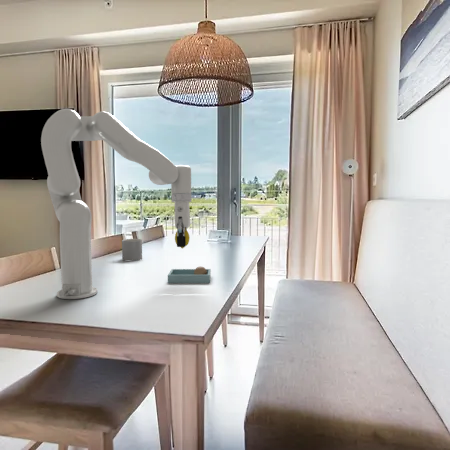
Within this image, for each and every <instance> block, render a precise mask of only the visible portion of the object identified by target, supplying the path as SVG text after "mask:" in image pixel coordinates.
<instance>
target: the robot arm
mask: <svg viewBox="0 0 450 450" xmlns="http://www.w3.org/2000/svg"><path fill="white" fill-rule="evenodd" d="M74 141H75V142H80V141H81V142H83V141H84V142H92V141H93V142H95V141H96V142H97V141H103V142H105V143H106V144H107V145H108V146H109V147H111V148H112V149H113V150H114V151H115V152H116V153H117V154H119V155H120V156H121V157H122V158H124V159H125V160H128V161H131V162H135V163H136V164H139V165H141V166H143V167H144V168H146V169H147V170H148V171H149V172H148V179H149V180H150V181H151V183H153V184H154V185H157V186H159V185H160V186H164V185H170V187H171V189H170V190H171V203H174V227H175V228H176V229H177V230H176V232H177V244H176V247H178V248H181V247H184V248H185V247H186V237H185V230H187V229H189V228H190V227H191V219H190V218H191V215H190V210H191V209H190V203H192V168H191V167H190V166H189V165H185V164H184V165H183V164H179V165H177V164H174V162H172V161H171V160H170V159H169V158H168V157H167V156H166V155H164V154H163V153H162V152H160V150H158V149H157V148H155V147H153V146H152V145H150V144H148V143H146V141H143V140H142V139H140V138H139V137H138V136H137V135H135V134H134V133H133V132H132V131H131V130H130V129H129V128H128V127H126V125H124V124H123V123H122V122H121V121H120V120H118V119H117V118H116V117H115V116H114V115H112V114H111V113H110V112H108V111H99V112H95V113H94V115H90V116H89V115H86V116H85V115H84V116H82V115H81V116H80V115H79V113H78V112H76V110H74V109H71V108H62V109H59V110H57V111H56V112H54V113H53V114H52V115H50V117H49V118H48V119H47V120H46V122H45V124H44V126H43V128H42V131H41V137H40V142H41V143H40V145H41V151H42V155H43V159H44V164H45V167H46V170H47V175H48V176H47V179H46V185H47V189H48V194H49V196H50V200H51V204H52V206H53V211H54V213H55V217H56V218H57V220H58V222H59V252H60V256H59V257H60V274H61V275H60V277H61V278H60V280H61V290H59V291H57V292H56V297H57V298H59V299H62V300H77V299H80V300H81V299H85V298H91V297H93V296H94V295H97V293H98V288H97V287H94V286H93V266H92V265H93V264H92V263H93V261H92V221H93V220H92V219H93V218H92V212H91V209H90V207H89V206H88V204H87V203H85V202H84V201H83V200H82V197H81V193H80V187H81V178H80V176H79V172H78V169H77V166H76V162H75V159H74V153H73V151H72V142H74ZM187 231H188V230H187Z"/></svg>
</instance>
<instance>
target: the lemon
mask: <svg viewBox="0 0 450 450" xmlns="http://www.w3.org/2000/svg"><path fill="white" fill-rule="evenodd" d="M174 234H175V235H174V242H175V244H176V245H177V231H176V232H175V233H174ZM185 237H186V246H188V245H189V243H190V234H189V232H188V230H185ZM186 246H185V247H186ZM185 247H180V249H184V248H185Z"/></svg>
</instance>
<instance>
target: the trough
mask: <svg viewBox="0 0 450 450" xmlns="http://www.w3.org/2000/svg"><path fill="white" fill-rule="evenodd" d="M195 269H196V268H172V269H171V270H169V273H168V274H167V283H168V284H210V283H211V276H212V270H211V268H205V269H206V271H207V275H194V270H195Z"/></svg>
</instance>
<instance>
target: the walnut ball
mask: <svg viewBox="0 0 450 450" xmlns="http://www.w3.org/2000/svg"><path fill="white" fill-rule="evenodd" d="M194 269H195V270H194V275H207V271H206V269H207V268H205V267H203V266H198V267H196V268H194Z"/></svg>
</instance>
